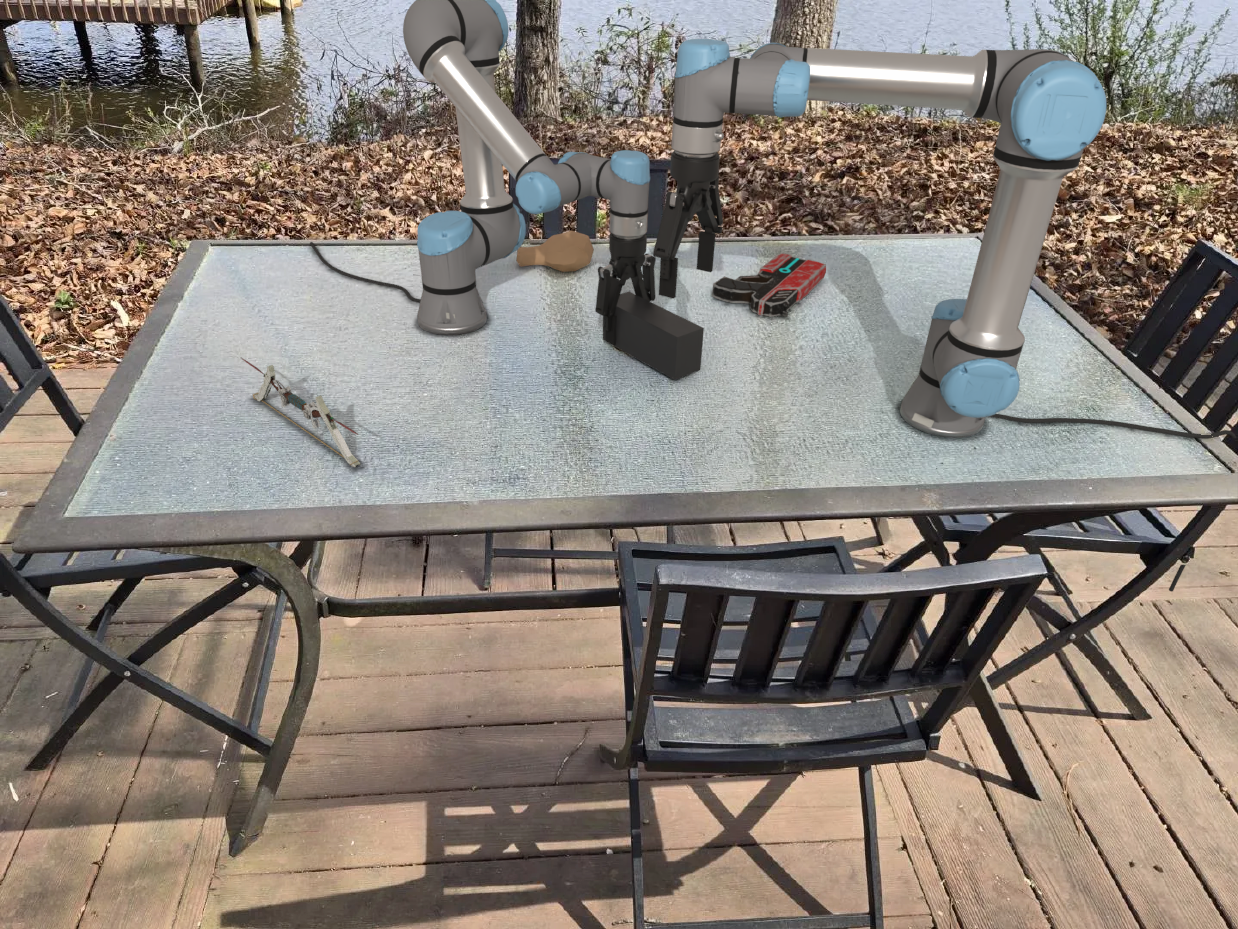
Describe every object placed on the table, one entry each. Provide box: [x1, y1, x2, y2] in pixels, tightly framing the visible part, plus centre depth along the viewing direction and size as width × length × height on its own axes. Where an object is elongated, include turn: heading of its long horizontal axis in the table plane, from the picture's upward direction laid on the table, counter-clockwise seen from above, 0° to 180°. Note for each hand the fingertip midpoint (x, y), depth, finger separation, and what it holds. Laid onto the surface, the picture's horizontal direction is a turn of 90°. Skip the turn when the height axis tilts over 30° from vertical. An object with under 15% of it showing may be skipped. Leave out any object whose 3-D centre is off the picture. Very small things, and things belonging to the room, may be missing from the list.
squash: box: [515, 230, 595, 273], centre depth 224 cm, size 11×20×9 cm, turn 90°
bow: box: [240, 356, 362, 468], centre depth 154 cm, size 39×2×10 cm, turn 47°
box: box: [602, 291, 705, 381], centre depth 180 cm, size 23×7×9 cm, turn 39°
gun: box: [711, 252, 827, 318], centre depth 215 cm, size 4×31×19 cm
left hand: (624, 337), depth 187 cm, fingers closed on box, 7 cm apart
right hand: (686, 282), depth 146 cm, fingers open, 13 cm apart
